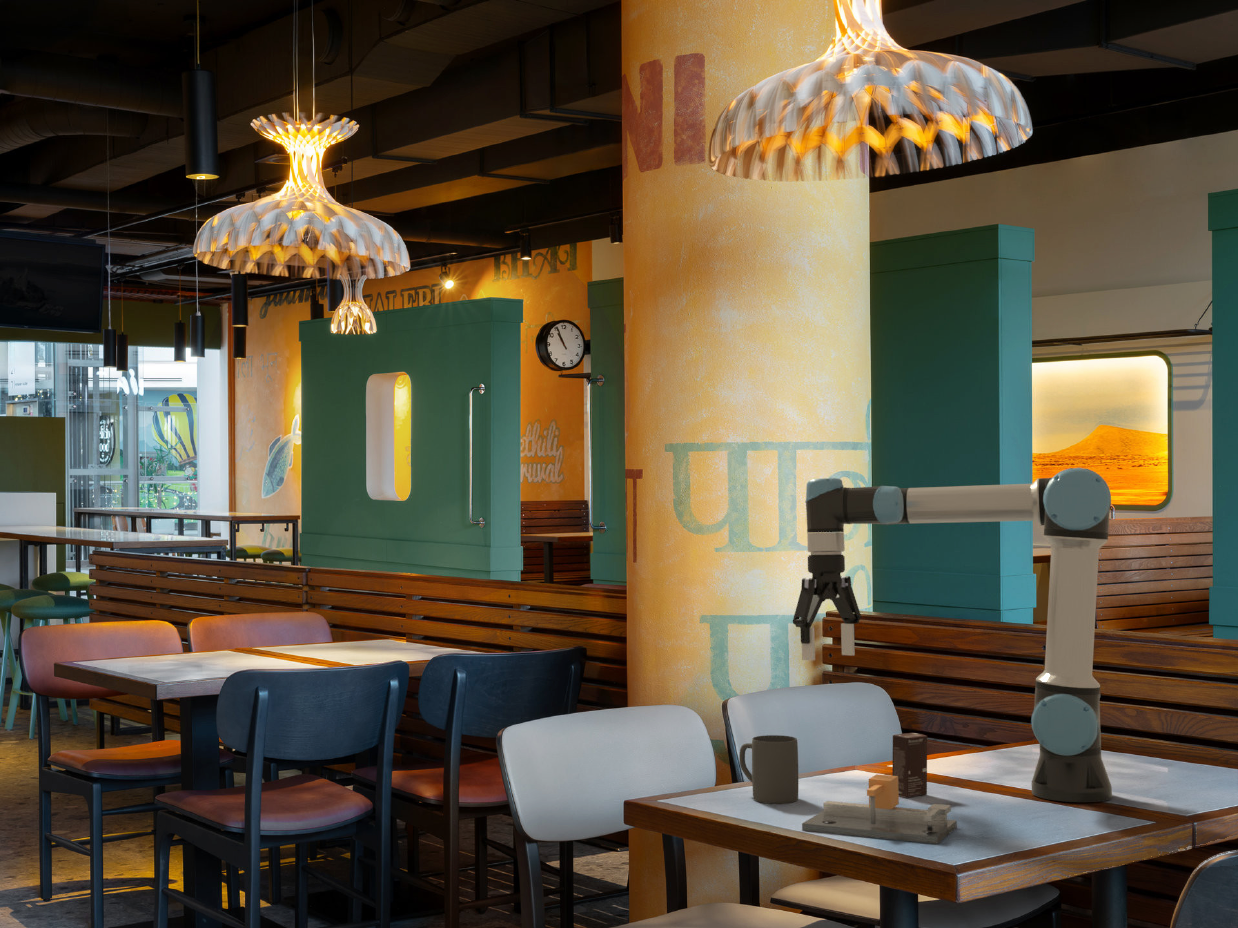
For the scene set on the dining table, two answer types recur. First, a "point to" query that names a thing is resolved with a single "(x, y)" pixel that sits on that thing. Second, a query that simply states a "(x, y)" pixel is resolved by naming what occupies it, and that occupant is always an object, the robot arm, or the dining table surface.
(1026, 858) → the dining table surface
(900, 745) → the box
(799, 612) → the robot arm
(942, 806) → the beam
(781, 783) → the mug
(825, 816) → the plate
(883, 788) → the jaw
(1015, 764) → the dining table surface
